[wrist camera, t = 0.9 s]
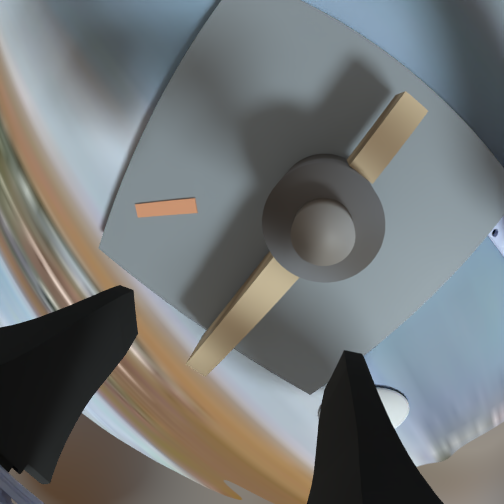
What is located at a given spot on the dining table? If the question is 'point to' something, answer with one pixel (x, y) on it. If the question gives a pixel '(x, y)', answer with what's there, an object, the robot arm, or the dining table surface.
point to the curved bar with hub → (315, 228)
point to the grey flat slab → (276, 166)
